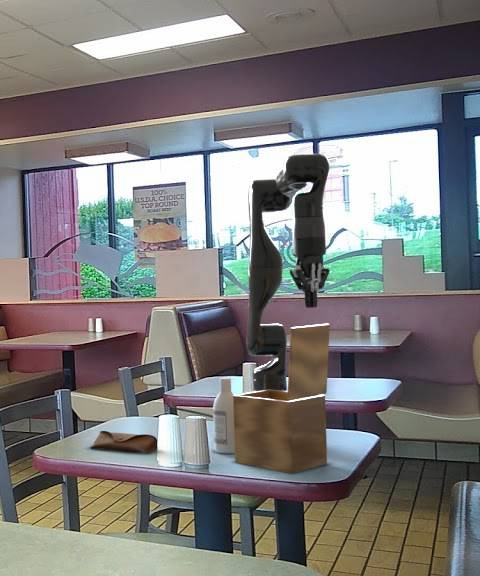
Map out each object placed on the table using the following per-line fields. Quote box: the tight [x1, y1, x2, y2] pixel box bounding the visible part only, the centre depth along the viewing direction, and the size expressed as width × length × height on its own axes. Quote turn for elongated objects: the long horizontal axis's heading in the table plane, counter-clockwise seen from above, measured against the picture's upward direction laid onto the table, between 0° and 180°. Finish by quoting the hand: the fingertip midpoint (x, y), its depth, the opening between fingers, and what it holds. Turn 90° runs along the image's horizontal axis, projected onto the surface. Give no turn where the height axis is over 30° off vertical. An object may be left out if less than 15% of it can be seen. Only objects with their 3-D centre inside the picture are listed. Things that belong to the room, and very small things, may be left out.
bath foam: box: [212, 377, 235, 455], centre depth 224 cm, size 7×7×20 cm
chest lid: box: [287, 323, 331, 400], centre depth 201 cm, size 18×15×1 cm
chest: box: [233, 389, 328, 474], centre depth 209 cm, size 17×15×17 cm
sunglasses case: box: [89, 430, 158, 453], centre depth 233 cm, size 18×7×7 cm
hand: (311, 307), depth 200 cm, fingers closed
